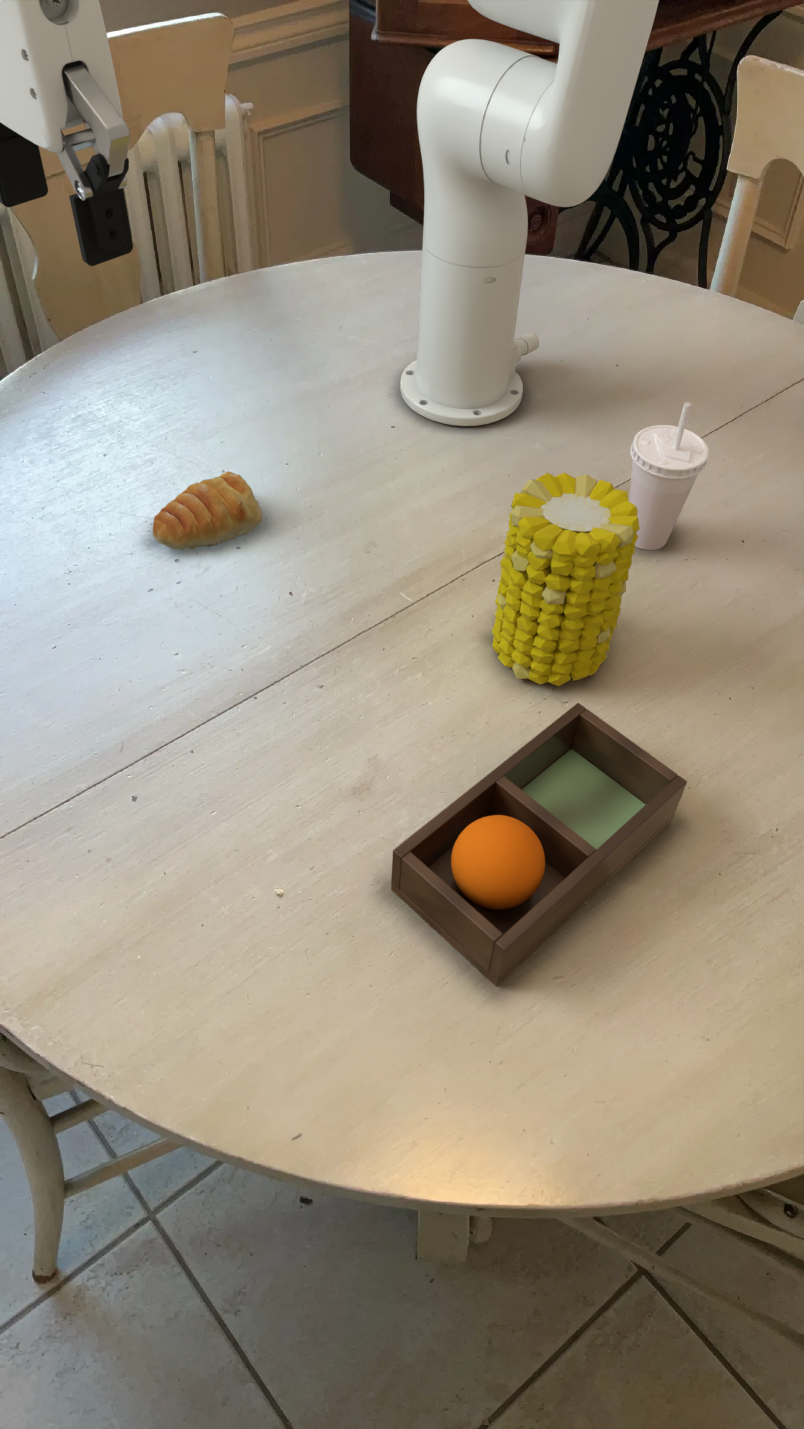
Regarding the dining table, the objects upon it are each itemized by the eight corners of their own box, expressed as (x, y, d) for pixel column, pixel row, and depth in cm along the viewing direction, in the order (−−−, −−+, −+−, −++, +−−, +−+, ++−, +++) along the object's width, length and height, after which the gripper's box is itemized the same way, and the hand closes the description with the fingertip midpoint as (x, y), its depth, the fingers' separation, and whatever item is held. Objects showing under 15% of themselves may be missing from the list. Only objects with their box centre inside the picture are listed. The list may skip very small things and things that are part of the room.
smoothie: (638, 568, 92) (675, 431, 81) (596, 525, 95) (627, 389, 85) (696, 547, 94) (740, 411, 83) (653, 506, 98) (690, 371, 87)
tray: (390, 889, 70) (392, 850, 66) (567, 744, 79) (578, 702, 75) (496, 987, 66) (504, 950, 62) (671, 822, 74) (688, 781, 71)
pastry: (178, 568, 90) (172, 533, 87) (138, 528, 93) (131, 493, 90) (270, 526, 94) (267, 491, 91) (228, 489, 97) (224, 454, 94)
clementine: (490, 833, 72) (499, 780, 68) (557, 888, 70) (571, 838, 65) (429, 884, 69) (434, 833, 65) (496, 944, 67) (506, 895, 62)
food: (483, 693, 84) (511, 614, 90) (632, 706, 80) (650, 622, 87) (457, 533, 74) (491, 457, 80) (627, 538, 70) (648, 458, 76)
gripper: (153, -90, 50) (197, 262, 63) (-26, -161, 58) (46, 164, 71) (10, -62, 46) (88, 303, 60) (-159, -142, 54) (-58, 196, 67)
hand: (65, 227), depth 65 cm, fingers open, 9 cm apart
